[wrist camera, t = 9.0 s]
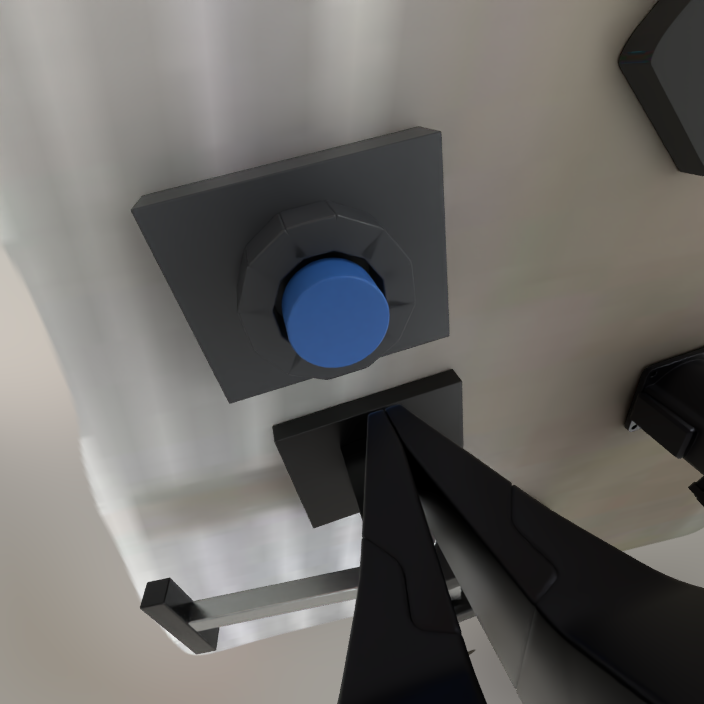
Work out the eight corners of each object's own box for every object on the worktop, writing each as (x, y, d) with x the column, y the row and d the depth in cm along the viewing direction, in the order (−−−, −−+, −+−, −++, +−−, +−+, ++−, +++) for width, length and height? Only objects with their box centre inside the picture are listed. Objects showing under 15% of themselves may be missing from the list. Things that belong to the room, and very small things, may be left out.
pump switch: (420, 125, 16) (469, 136, 12) (433, 316, 21) (469, 359, 18) (140, 195, 15) (116, 227, 11) (229, 378, 20) (229, 435, 17)
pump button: (367, 244, 14) (383, 263, 13) (381, 328, 16) (395, 351, 15) (268, 272, 14) (273, 294, 12) (295, 354, 16) (302, 380, 14)
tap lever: (202, 617, 22) (193, 670, 20) (150, 567, 19) (134, 625, 17) (447, 566, 22) (462, 615, 20) (443, 506, 18) (460, 558, 16)
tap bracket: (310, 513, 28) (343, 683, 20) (272, 426, 22) (295, 612, 14) (456, 463, 29) (541, 606, 21) (452, 368, 23) (565, 513, 16)
